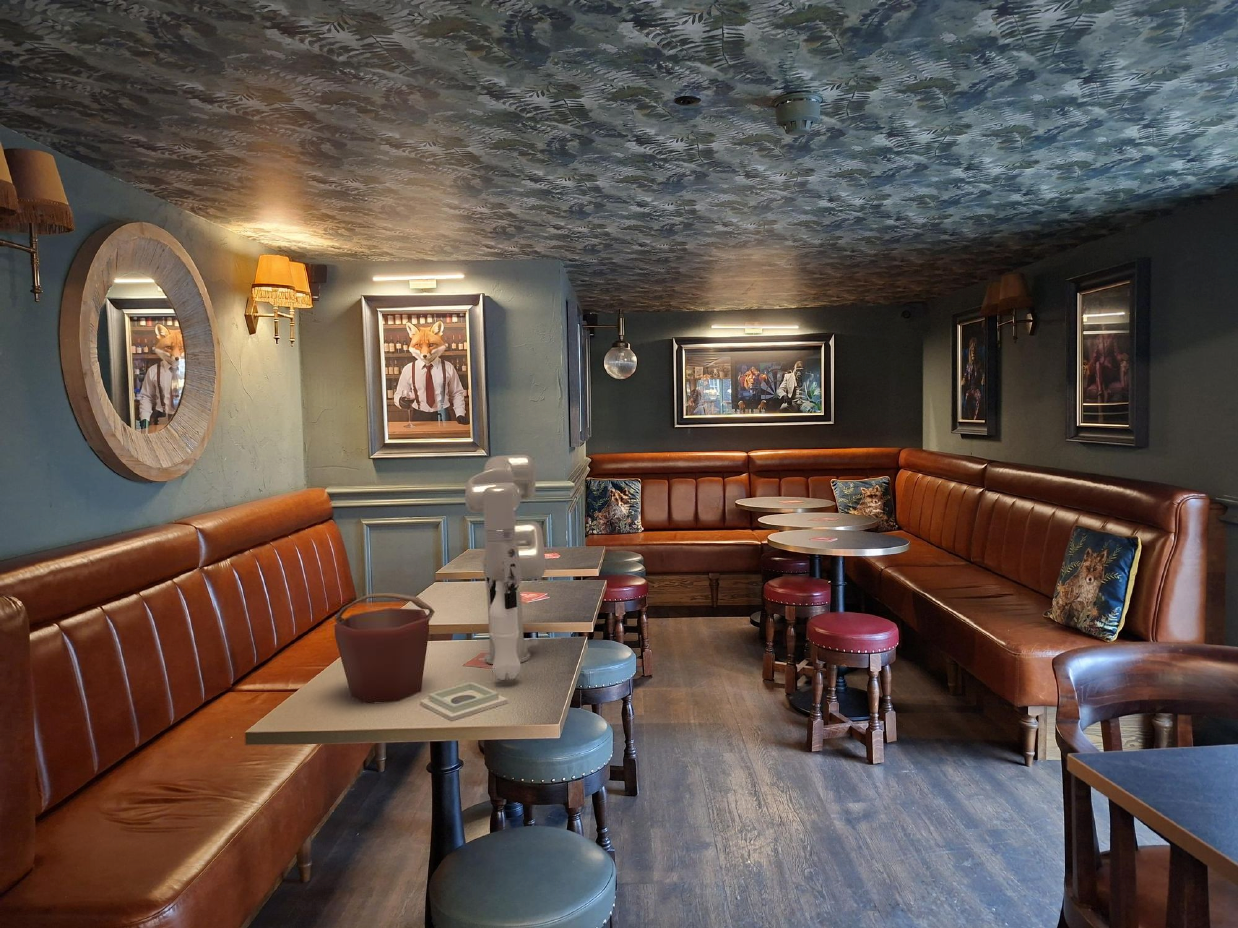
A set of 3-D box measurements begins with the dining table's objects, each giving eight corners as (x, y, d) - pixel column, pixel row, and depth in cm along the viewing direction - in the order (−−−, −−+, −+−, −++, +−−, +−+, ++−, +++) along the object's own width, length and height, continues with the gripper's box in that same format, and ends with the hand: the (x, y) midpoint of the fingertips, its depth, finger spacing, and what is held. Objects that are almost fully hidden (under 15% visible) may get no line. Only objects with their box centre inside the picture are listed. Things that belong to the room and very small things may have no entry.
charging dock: (474, 688, 199) (474, 678, 199) (507, 702, 188) (507, 692, 188) (420, 704, 189) (419, 694, 189) (451, 720, 178) (451, 710, 178)
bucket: (452, 680, 206) (447, 585, 204) (404, 712, 185) (398, 606, 183) (371, 675, 213) (366, 583, 212) (317, 704, 192) (310, 602, 191)
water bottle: (492, 682, 198) (487, 584, 196) (492, 673, 205) (487, 578, 203) (521, 679, 199) (516, 581, 197) (520, 670, 206) (515, 576, 204)
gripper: (532, 536, 195) (535, 608, 197) (494, 530, 208) (497, 597, 209) (506, 541, 190) (510, 614, 192) (469, 534, 203) (472, 603, 204)
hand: (503, 605), depth 200 cm, fingers closed on water bottle, 6 cm apart
